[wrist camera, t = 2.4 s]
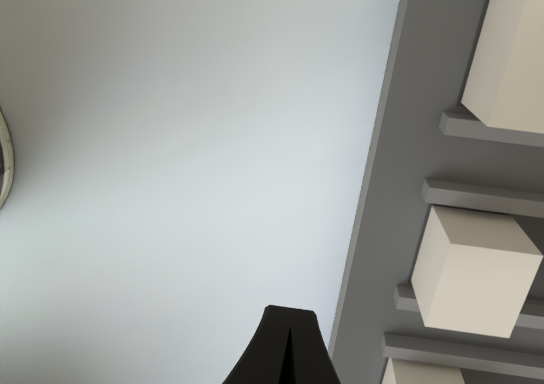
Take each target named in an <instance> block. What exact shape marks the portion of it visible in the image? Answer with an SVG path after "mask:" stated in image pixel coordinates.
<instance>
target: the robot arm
mask: <svg viewBox="0 0 544 384" xmlns="http://www.w3.org/2000/svg"><path fill="white" fill-rule="evenodd" d="M222 384H341V382H340V380H339V378H338V376H337V373H336V371H335V369H334V366H333V364H332V362H331V359H330V357H329V354H328V352H327V349H326V347H325V344H324V341H323V338H322V335H321V332H320V329H319V325H318V321H317V316H316V314H315V313H314V312H313V311H310V310H303V309H296V308H289V307H281V306H274V305H269V306H267V307H265V310H264V314H263V317H262V319H261V322H260V324H259V326H258V328H257V330H256V332H255V334H254V336H253V338H252V340H251V341H250V343H249V345H248V346H247V348H246V350H245V351H244V353H243V355H242V356H241V358H240V359H239V361H238V362H237V364H236V365H235V367H234V368H233V369H232V371H231V372H230V374H229V375H228V377H227V378H226V379H225V381H224V382H223V383H222Z"/></svg>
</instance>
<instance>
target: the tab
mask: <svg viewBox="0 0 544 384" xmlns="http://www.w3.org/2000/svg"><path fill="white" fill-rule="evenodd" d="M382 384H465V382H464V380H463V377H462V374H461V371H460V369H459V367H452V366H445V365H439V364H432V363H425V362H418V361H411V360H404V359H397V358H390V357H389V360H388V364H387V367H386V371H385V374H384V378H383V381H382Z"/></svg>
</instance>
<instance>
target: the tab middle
mask: <svg viewBox="0 0 544 384" xmlns="http://www.w3.org/2000/svg"><path fill="white" fill-rule="evenodd" d="M542 258H543V255H542V254H541V252H540V251H539V250H538V249H537V247H536V246H535V245H534V244H533V242H532V241H531V240H530V239H529V237H528V236H527V235H526V234H525V232H524V231H523V230H522V229H521V227H520V226H519V225H518V224H517V222H516V221H515V220H514V219H513V217H512V216H509V215H501V214H494V213H486V212H478V211H471V210H463V209H456V208H448V207H441V206H433V205H432V207H431V211H430V214H429V218H428V222H427V225H426V229H425V232H424V236H423V239H422V243H421V246H420V250H419V254H418V257H417V261H416V264H415V268H414V271H413V275H412V278H411V282H412V286H413V289H414V292H415V296H416V299H417V302H418V305H419V309H420V312H421V315H422V318H423V322H424V325H425V327H433V328H440V329H447V330H454V331H461V332H468V333H475V334H482V335H490V336H497V337H504V338H509V337H510V335H511V332H512V330H513V328H514V325H515V323H516V320H517V318H518V316H519V313H520V311H521V308H522V306H523V304H524V301H525V299H526V296H527V294H528V292H529V289H530V287H531V284H532V282H533V280H534V277H535V275H536V272H537V270H538V268H539V265H540V263H541V260H542Z"/></svg>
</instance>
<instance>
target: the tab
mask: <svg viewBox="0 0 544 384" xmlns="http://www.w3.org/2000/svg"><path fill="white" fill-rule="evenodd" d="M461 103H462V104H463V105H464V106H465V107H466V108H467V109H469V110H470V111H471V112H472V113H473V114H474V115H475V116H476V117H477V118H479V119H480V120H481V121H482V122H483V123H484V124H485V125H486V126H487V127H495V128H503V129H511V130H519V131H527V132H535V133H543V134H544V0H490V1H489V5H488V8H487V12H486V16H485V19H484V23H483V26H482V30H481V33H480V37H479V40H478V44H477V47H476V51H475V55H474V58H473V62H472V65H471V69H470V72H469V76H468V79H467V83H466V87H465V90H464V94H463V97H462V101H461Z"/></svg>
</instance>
